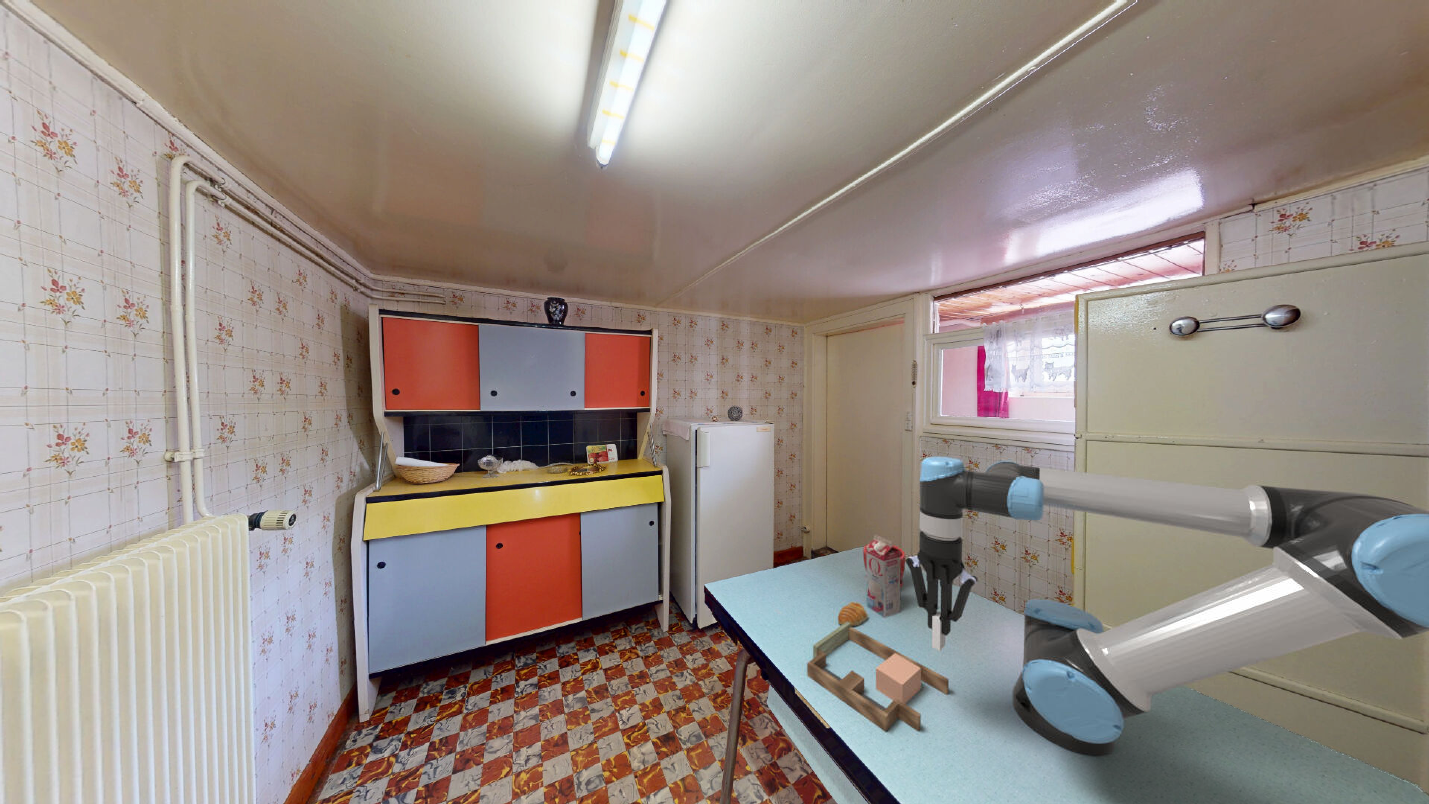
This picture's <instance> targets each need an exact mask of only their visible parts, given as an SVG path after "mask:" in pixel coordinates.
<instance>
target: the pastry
mask: <svg viewBox="0 0 1429 804" xmlns="http://www.w3.org/2000/svg"><path fill="white" fill-rule="evenodd" d="M868 618H869V615H868V613H867V610H866V609H865V607H864V606H863V604H860V603H859V602H854V601H851V602H849V603H848V604H846V605H845V606H843V607H842V608H841V609H840V611H839V613H838V616H837V621H838V624H839V625H840V626H841V625H843V624H844V623H846V622H849V623H851V627H852V628H853V627H857V626H860V625H861V624H863V623H864V622H866V621H867V620H868Z"/></svg>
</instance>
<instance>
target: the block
mask: <svg viewBox="0 0 1429 804" xmlns="http://www.w3.org/2000/svg"><path fill="white" fill-rule="evenodd" d="M921 684H922V680H921V668H920V667H918V666H916V665H915V664H913V663H911V662H909V661H908V660H906V659H904V658H903V657H901V656H899V655H897V654H896V653H894V654H893V655H892V656H891V657H889V658H888V659H887V660H884V661H883V662H882V663H880V665H878V666H877V667H875V690H877V692H879V693H882V694H883V695H884V696H886V697H887V698H889V699H890V700H891V701H893V700H894V699H895V698H896V699H898V700H899V701H901V702H903V703H904V704H906V705H907V703H909V701H910V700H911V699H912V698H913V697H914V696H915V695H916V694H918V693H919V692H920V690H921V689H922V685H921Z"/></svg>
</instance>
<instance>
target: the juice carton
mask: <svg viewBox="0 0 1429 804" xmlns="http://www.w3.org/2000/svg"><path fill="white" fill-rule="evenodd" d="M873 535H874V536H873V540H872V541H871V542H870V543H868V544H869V545H868V544H867V545H868V546H867V571H866V574H867V579H866V607H867V608H869V609H871V610H872V611H873V612H875V613H876V614H878V615H879V616H881V617H883V618H886V617H890V616H893V615H896V614H899V613H901V588H900V551H899V550H898V549H895V548H893V541H891V540H889V539H886V538H884V537H882V536H880V535H877V534H875V533H874V534H873Z"/></svg>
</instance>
